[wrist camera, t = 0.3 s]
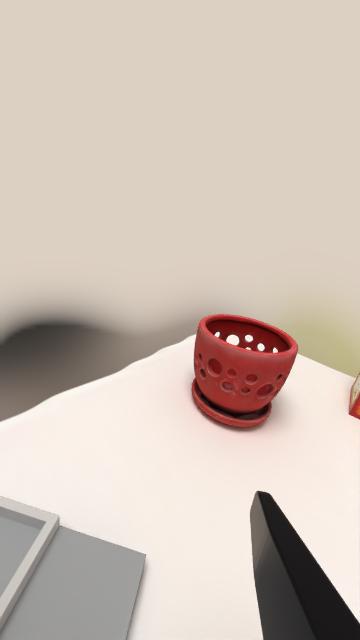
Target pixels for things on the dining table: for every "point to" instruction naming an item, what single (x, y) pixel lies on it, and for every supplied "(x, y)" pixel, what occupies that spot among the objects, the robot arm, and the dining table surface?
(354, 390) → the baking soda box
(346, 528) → the dining table surface
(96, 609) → the panel
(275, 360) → the plant pot
